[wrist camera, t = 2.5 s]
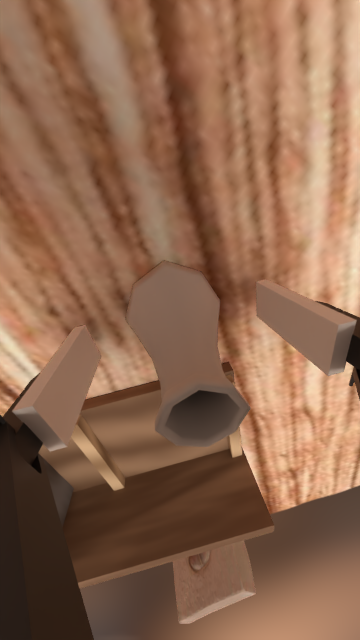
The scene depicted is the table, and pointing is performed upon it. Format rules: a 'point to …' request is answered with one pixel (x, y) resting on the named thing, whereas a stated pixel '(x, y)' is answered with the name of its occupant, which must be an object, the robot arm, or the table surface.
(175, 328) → the flask
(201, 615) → the fossil
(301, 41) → the table surface
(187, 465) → the brown open box
